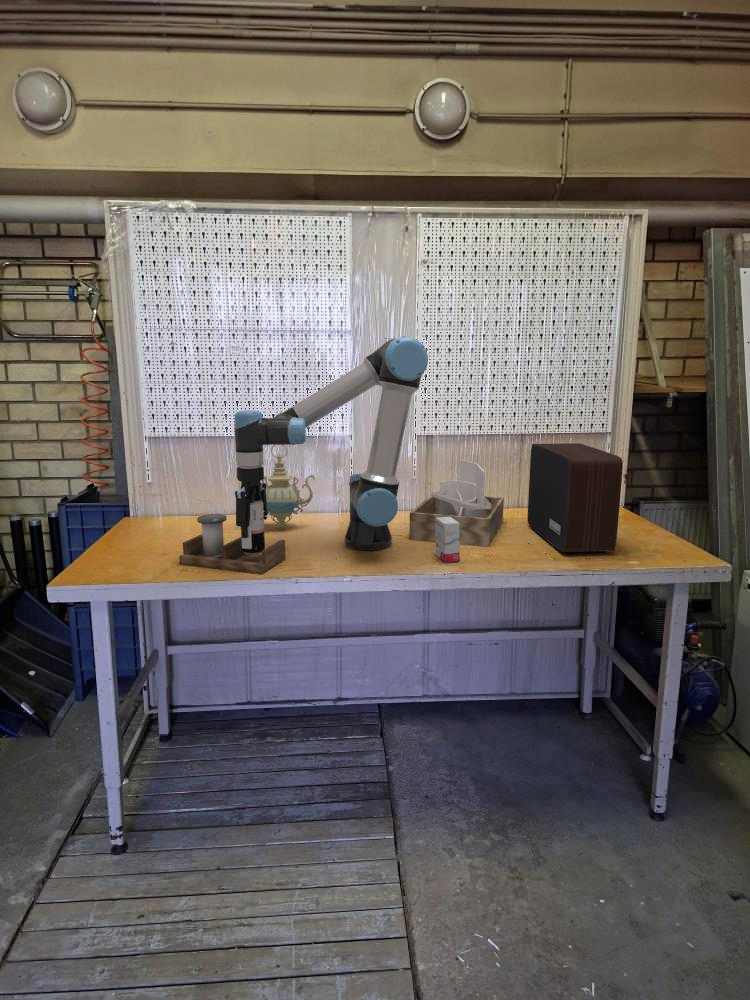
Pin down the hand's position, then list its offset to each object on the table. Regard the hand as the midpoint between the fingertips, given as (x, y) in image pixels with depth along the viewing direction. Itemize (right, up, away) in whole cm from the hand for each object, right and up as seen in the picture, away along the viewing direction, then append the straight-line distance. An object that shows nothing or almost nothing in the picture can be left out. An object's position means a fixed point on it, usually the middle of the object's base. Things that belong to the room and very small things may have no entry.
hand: (253, 544), depth 180 cm
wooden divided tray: (-6, -5, +2) cm, 8 cm away
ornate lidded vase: (+3, +3, +38) cm, 38 cm away
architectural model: (+66, +2, +36) cm, 75 cm away
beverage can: (0, -2, +1) cm, 2 cm away
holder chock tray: (+64, +3, +36) cm, 74 cm away
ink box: (+57, -5, +6) cm, 57 cm away
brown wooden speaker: (+99, 0, +24) cm, 102 cm away
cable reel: (-13, -4, +5) cm, 14 cm away
